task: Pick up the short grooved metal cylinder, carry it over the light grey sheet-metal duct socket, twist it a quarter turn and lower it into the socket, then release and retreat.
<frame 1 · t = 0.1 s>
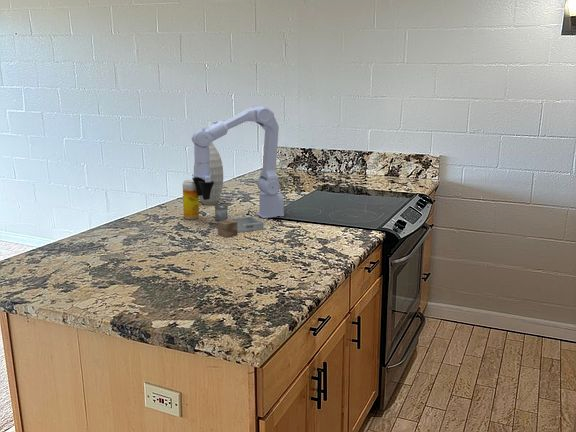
hand: (203, 197, 223), 10 cm above the worktop, fingers open, 7 cm apart
beer can: (191, 218, 231), on the worktop
grooved metal cylinder: (221, 220, 228), on the worktop
walnut block: (227, 235, 209), on the worktop
duct socket: (244, 227, 218), on the worktop
vase: (209, 203, 256), on the worktop
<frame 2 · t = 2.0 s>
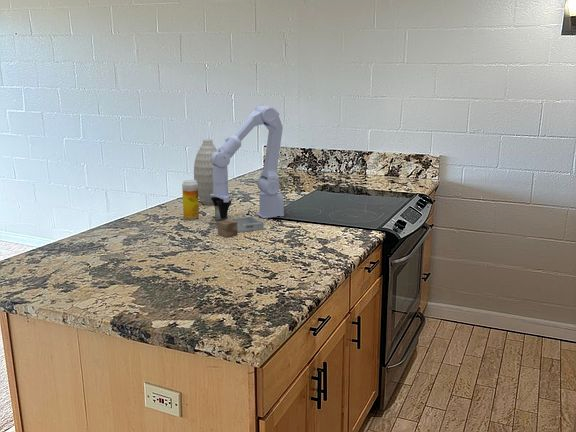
hand: (221, 216, 227), 2 cm above the worktop, fingers closed on grooved metal cylinder, 5 cm apart
grooved metal cylinder: (221, 220, 228), on the worktop, touching gripper
everything else where it was.
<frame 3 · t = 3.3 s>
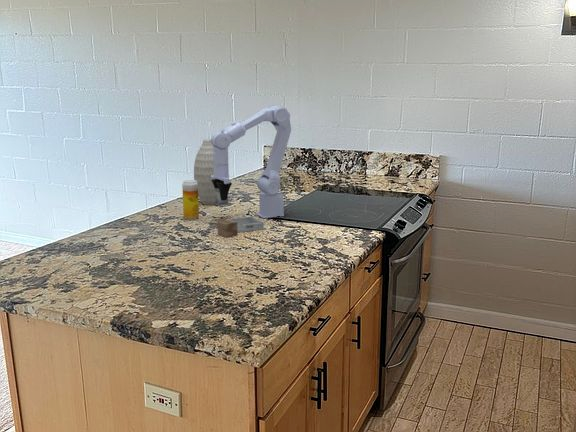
hand: (221, 198, 225), 9 cm above the worktop, fingers closed on grooved metal cylinder, 5 cm apart
grooved metal cylinder: (221, 203, 226), point 7 cm above the worktop, touching gripper
everything else where it was.
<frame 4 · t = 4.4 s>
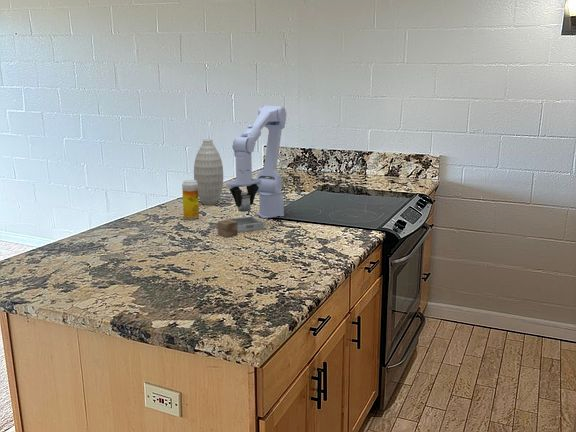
hand: (244, 205, 216), 8 cm above the worktop, fingers closed on grooved metal cylinder, 5 cm apart
grooved metal cylinder: (244, 210, 217), point 7 cm above the worktop, touching gripper
everything else where it was.
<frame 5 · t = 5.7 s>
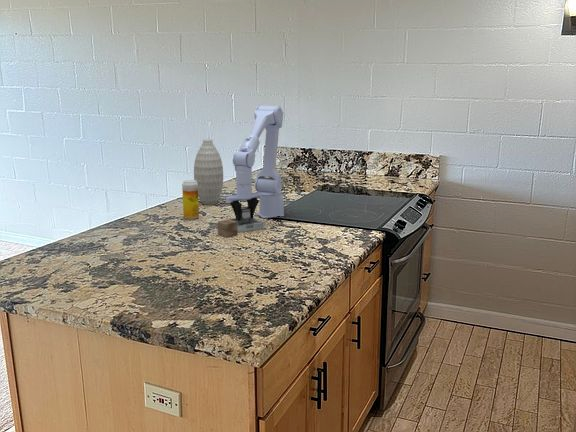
hand: (244, 219, 218), 3 cm above the worktop, fingers closed on grooved metal cylinder, 5 cm apart
grooved metal cylinder: (244, 223, 218), point 1 cm above the worktop, touching gripper
everything else where it was.
when the fingers open (3 cm above the worktop, at t = 6.6 s): grooved metal cylinder drops 1 cm, resting in duct socket.
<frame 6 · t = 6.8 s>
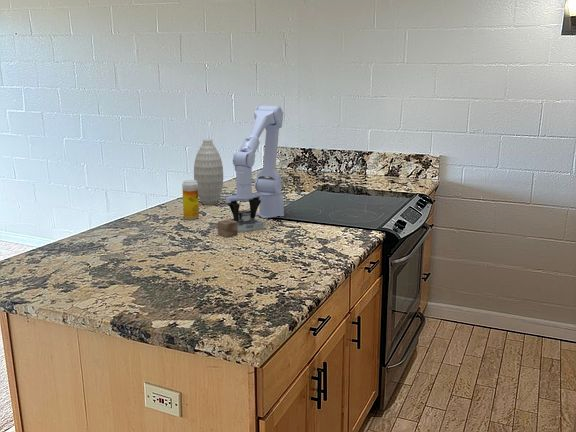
hand: (244, 219, 218), 3 cm above the worktop, fingers open, 7 cm apart
grooved metal cylinder: (244, 227, 219), resting in duct socket
everything else where it was.
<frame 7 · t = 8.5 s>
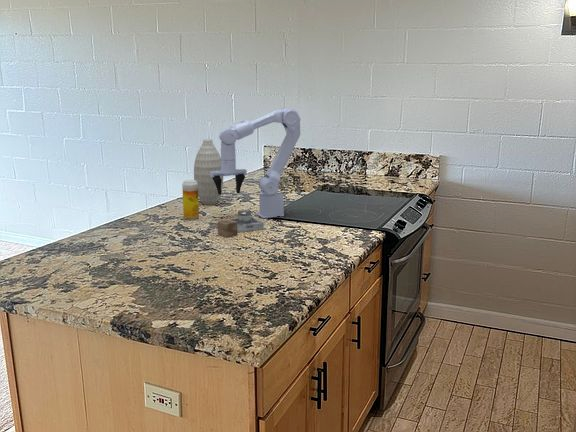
hand: (228, 193, 229), 10 cm above the worktop, fingers open, 7 cm apart
nothing on the worktop moved.
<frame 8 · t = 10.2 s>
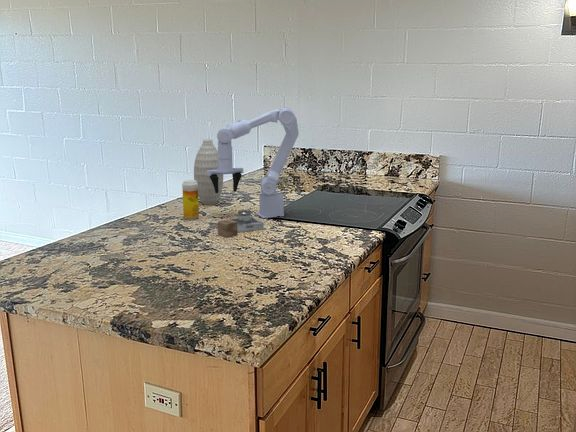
hand: (225, 192, 232), 10 cm above the worktop, fingers open, 7 cm apart
nothing on the worktop moved.
at the end: grooved metal cylinder 0.3 cm off-centre on the duct socket, point 0.0 cm above the duct socket's base; grooved metal cylinder tilted 0°; the gripper is holding nothing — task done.
